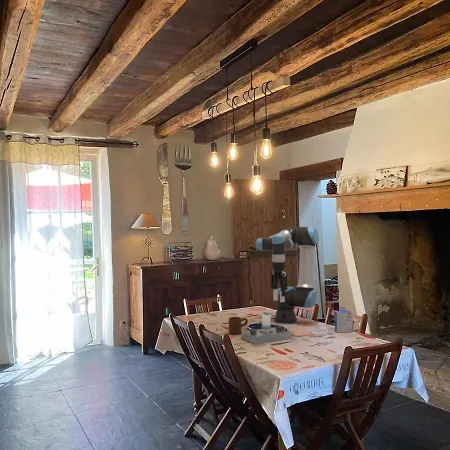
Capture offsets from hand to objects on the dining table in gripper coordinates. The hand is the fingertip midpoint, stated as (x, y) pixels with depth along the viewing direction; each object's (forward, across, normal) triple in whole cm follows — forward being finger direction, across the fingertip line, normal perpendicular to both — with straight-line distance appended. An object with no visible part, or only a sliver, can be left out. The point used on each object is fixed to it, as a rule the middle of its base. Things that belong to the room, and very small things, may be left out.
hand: (278, 301), depth 263 cm
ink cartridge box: (+21, +8, +42) cm, 48 cm away
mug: (+21, -20, -16) cm, 33 cm away
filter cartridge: (+21, 0, -9) cm, 23 cm away
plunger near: (+20, 0, -18) cm, 27 cm away
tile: (+21, 0, +15) cm, 26 cm away
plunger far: (+20, 0, 0) cm, 20 cm away
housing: (+21, 0, -9) cm, 23 cm away
